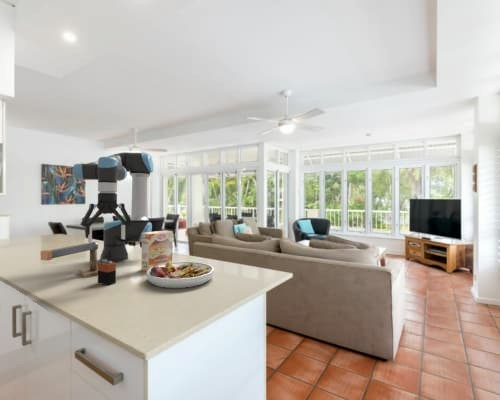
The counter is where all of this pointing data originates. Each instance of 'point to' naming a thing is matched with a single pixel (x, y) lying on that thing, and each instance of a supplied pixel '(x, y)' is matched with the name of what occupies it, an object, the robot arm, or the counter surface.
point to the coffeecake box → (156, 249)
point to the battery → (106, 272)
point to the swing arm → (67, 250)
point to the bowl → (180, 274)
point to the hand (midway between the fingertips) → (107, 240)
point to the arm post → (91, 265)
